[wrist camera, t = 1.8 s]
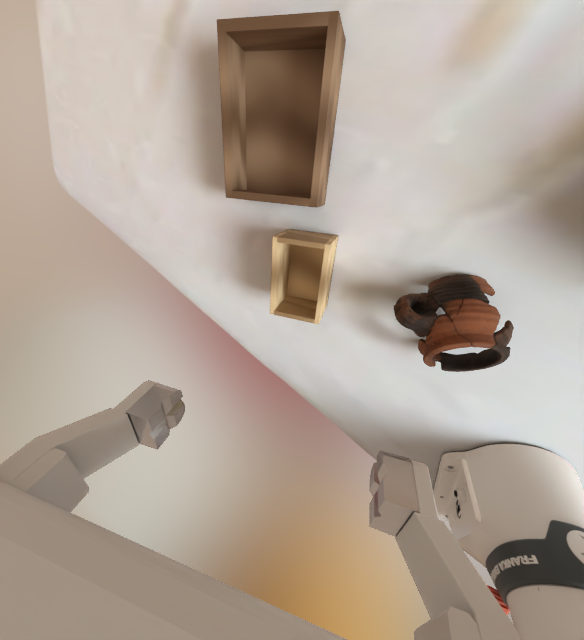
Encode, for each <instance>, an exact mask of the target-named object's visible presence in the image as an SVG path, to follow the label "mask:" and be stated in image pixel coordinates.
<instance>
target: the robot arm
mask: <svg viewBox="0 0 584 640" xmlns="http://www.w3.org/2000/svg"><path fill="white" fill-rule="evenodd" d="M182 397H183V395H182V392H181V390H177V389H174V388H171V387H168V386H164V385H162V384H159V383H156V382H152V381H149V380H148V381H146V382H144V383H143V384H141V385H140V386H139V387H138V388H137V389H136V390H135V391H133V392H132V393H131V394H130V395H129V396H128V397H127V398H126V399H124V400H123V401H122V402H121V403H120V404H119V405H117V406H116V407H115V408H114V409H111V408H109V409H107V410H104V411H102V412H99V413H97V414H94V415H92V416H89V417H87V418H84V419H82V420H79V421H77V422H74V423H72V424H69V425H67V426H64V427H62V428H59V429H57V430H54V431H52V432H49V433H47V434H44V435H41V436H39V437H36V438H34V439H33V440H32V441H31V442H29V443H28V444H26V445H25V446H24V447H23V448H21V449H20V450H19V451H17V452H16V453H15V454H14V455H12V456H11V457H9V458H8V459H7V460H6V461H4V462H3V463H2V464H0V640H347V639H345V638H342V637H340V636H338V635H336V634H334V633H332V632H329V631H327V630H325V629H323V628H321V627H319V626H316V625H314V624H312V623H310V622H308V621H305V620H303V619H301V618H299V617H297V616H294V615H292V614H290V613H288V612H286V611H284V610H281V609H279V608H277V607H275V606H273V605H271V604H268V603H266V602H264V601H262V600H260V599H258V598H255V597H253V596H251V595H249V594H246V593H244V592H242V591H240V590H238V589H236V588H234V587H231V586H229V585H227V584H225V583H223V582H220V581H218V580H216V579H214V578H212V577H209V576H207V575H205V574H203V573H201V572H198V571H196V570H194V569H192V568H190V567H188V566H185V565H183V564H181V563H179V562H177V561H175V560H172V559H170V558H168V557H166V556H164V555H162V554H159V553H157V552H155V551H153V550H151V549H148V548H146V547H144V546H142V545H140V544H138V543H135V542H133V541H131V540H129V539H127V538H124V537H122V536H120V535H118V534H116V533H113V532H111V531H109V530H107V529H105V528H103V527H101V526H98V525H96V524H94V523H92V522H90V521H87V520H85V519H83V518H81V517H79V516H77V515H74V514H72V513H70V512H71V511H72V510H73V509H74V508H75V507H76V506H77V504H78V503H79V502H80V501H81V500H82V499H83V498H84V497H85V496H86V494H87V493H88V492H89V487H88V485H87V484H86V482H85V481H84V478H86V477H87V476H89V475H90V474H92V473H94V472H95V471H97V470H99V469H100V468H102V467H104V466H105V465H107V464H108V463H110V462H112V461H113V460H115V459H116V458H118V457H120V456H122V455H123V454H125V453H126V452H128V451H130V450H132V449H133V448H135V447H136V446H138V445H139V444H142V445H146V446H148V447H151V448H155V449H158V448H159V447H160V446H161V445H162V443H163V442H164V441H165V440H166V438H167V437H168V436H169V432H170V429H171V428H173V427H175V426H177V425H178V423H179V422H180V421H181V419H182V417H183V415H184V412H185V405H184V403H183V402H182V400H181V398H182ZM370 492H371V494H372V496H373V498H372V500H371V502H370V527H372V528H374V529H377V530H380V531H382V532H385V533H387V534H390V535H392V536H395V537H396V538H395V539H396V541H397V543H398V545H399V548H400V550H401V552H402V554H403V557H404V559H405V561H406V563H407V566H408V568H409V570H410V573H411V575H412V577H413V579H414V582H415V584H416V586H417V588H418V591H419V593H420V595H421V597H422V599H423V602H424V604H425V606H426V609H427V611H428V613H429V615H430V618H431V620H429V621H428V622H426V623H425V624H423V625H421V626H420V627H418V628H417V629H416V630H415V632H414V640H584V488H583V487H582V485H581V482H580V479H579V477H578V474H577V472H576V470H575V468H574V467H573V466H572V465H571V464H570V463H569V462H568V461H566V460H565V459H564V458H562V457H560V456H558V455H557V454H554V453H552V452H550V451H547V450H544V449H541V448H537V447H533V446H528V445H520V444H495V445H488V446H483V447H479V448H476V449H473V450H470V451H466V452H450V453H445V454H443V455H442V457H441V462H440V466H439V470H438V474H437V478H436V482H435V486H434V490H433V489H432V484H431V479H430V474H429V469H428V467H427V465H426V464H424V463H421V462H417V461H413V460H410V459H408V458H405V457H401V456H398V455H394V454H391V453H387V452H384V451H380V452H379V453H378V455H377V462H376V463H374V465H373V467H372V470H371V476H370ZM438 515H439V516H440V517H442V518H444V519H445V520H447V521H449V523H450V527H451V532H452V533H451V532H450V530H449V529H448V527H447V526H446V524H445V523H444V522H443V521H441V520H439V519H438ZM464 551H465V552H466V553H467V554H469V555H470V556H472V557H473V558H474V559H475V560H477V561H478V562H480V563H481V564H482V565H483V566H484V567H486V568H487V570H488V572H489V574H490V576H491V579H492V580H493V583H494V584H495V586H496V588H497V590H495V589H494V588H492V587H490V586H488V585H486V584H485V582H484V581H483V580H482V578H481V576H480V575H479V573H478V572H477V570H476V569H475V567H474V566H473V564H472V563H471V561H470V560H469V558H468V557H467V555H466V554H465V552H464ZM509 611H510V614H511V617H512V620H513V623H514V625H513V624H512V622H511V621H510V619H509V618H508V616H507V614H509Z"/></svg>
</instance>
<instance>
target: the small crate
mask: <svg viewBox="0 0 584 640" xmlns="http://www.w3.org/2000/svg"><path fill="white" fill-rule="evenodd" d="M337 240H338V235H330V234H323V233H315V232H308V231H300V230H293V229H288V230H286V231H284V232H282V233H279V234H277V235H275V236H273V244H272V272H271V300H270V314H274V315H278V316H283V317H288V318H292V319H297V320H301V321H306V322H310V323H315V324H319V322H320V320H321V318H322V315H323V313H324V311H325V309H326V306H327V302H328V296H329V290H330V284H331V278H332V271H333V265H334V259H335V253H336V247H337Z"/></svg>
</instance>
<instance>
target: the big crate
mask: <svg viewBox="0 0 584 640" xmlns="http://www.w3.org/2000/svg"><path fill="white" fill-rule="evenodd" d="M217 32H218V51H219V71H220V90H221V110H222V129H223V149H224V168H225V188H226V197H227V198H236V199H245V200H254V201H263V202H272V203H281V204H290V205H299V206H308V207H319V206H323V205H325V198H326V190H327V182H328V174H329V167H330V159H331V151H332V143H333V135H334V127H335V120H336V112H337V104H338V96H339V88H340V80H341V73H342V65H343V57H344V49H345V41H346V40H345V35H344V31H343V27H342V22H341V18H340V13H339V11H330V12H316V13H302V14H288V15H274V16H260V17H246V18H233V19H219V20H217Z"/></svg>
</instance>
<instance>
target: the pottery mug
mask: <svg viewBox="0 0 584 640" xmlns="http://www.w3.org/2000/svg"><path fill="white" fill-rule="evenodd" d="M484 293H486V294H488V295H490V296H493V295H494V294H495V291H494V289H493V288H492V287H491V286H490V285H489V284H488V283H487V281H486V280H484V279H483V278H481V277H478V276H473V275H458V274H457V275H451V276H446V277H442V278H440V279H437V280H435V281H433V282H431V283H429V289H428V293H421V294H408V295H405V296H402V297H401V298H399V300H398V301H397V303H396V305H394V312H395V316H396V319H397V320H398V322H399V323H400V324H401V325H403V326H404V327H406V328H409V329H411V330H413V331H414V332H415V334H416V335H417V336H419V337H424V336H426V341H425V340H423V339H420V340H419V343H418V348H419V351H420V353H421V354H422V355H423V361H424V363H425V364H426V365H428V366H430V367H432V366H435V365H436V363H435V361H438V362H441V368H442V370H444V371H456V372H460V371H473V370H480V369H486V368H489V367H493V366H496V365H498V364H501V363H502V362H504V361H505V360H506V359H507V358H508V357H509V354H510V347H506V346H507V344H508V343H509V341H510V339H511V337H512V331H513V328H514V327H513V325H512V323H511V321H509V320H508V321H506V323H505V326H504V327H503V328H502V329H501V330H499V331H498V332H495V333H494V331H495V330H496V328H497V325H498V323H499V319H500V314H499V312H498V310H497V308H495V307H493V306H491V305H489V300H488V298H487V296H485V294H484ZM439 307H441V308H442V309H443V310H444V312H445V313H446V314H442V315H439V316H437V314H436V313H435V312H436V311H437V309H438V308H439ZM464 347H483V348H491V349H487V350H484V351H482V352H480V353H478V354H476V353H467V354H460V355H454V354H448V353H443V351H447V350H451V349H456V348H464Z"/></svg>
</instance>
